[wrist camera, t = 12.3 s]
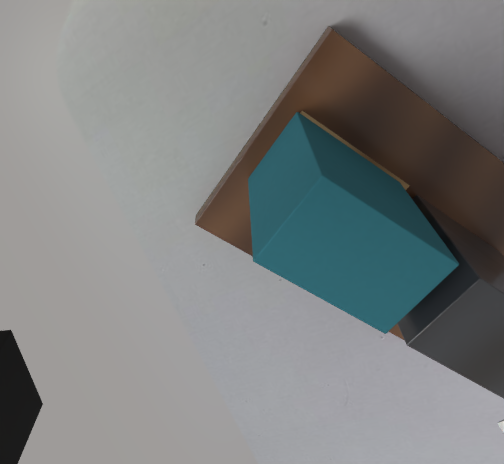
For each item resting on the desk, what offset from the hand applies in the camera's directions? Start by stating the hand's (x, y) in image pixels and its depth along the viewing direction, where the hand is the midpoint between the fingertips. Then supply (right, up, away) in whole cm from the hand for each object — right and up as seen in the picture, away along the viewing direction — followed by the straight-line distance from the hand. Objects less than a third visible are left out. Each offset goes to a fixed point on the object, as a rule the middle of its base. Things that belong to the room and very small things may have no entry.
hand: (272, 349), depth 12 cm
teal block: (+4, +6, +17) cm, 18 cm away
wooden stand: (+8, +5, +19) cm, 21 cm away
